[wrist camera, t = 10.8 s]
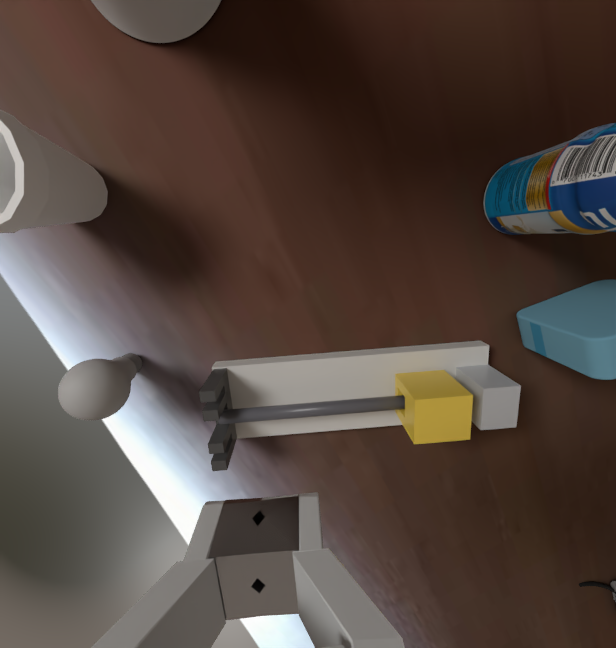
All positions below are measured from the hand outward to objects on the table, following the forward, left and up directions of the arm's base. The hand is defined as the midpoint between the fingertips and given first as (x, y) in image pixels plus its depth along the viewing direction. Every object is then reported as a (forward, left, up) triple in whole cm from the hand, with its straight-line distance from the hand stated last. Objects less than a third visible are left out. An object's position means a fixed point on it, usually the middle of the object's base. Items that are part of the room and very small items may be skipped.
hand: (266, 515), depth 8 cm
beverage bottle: (-10, +27, -31) cm, 42 cm away
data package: (+4, +34, -31) cm, 46 cm away
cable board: (+12, +7, -31) cm, 34 cm away
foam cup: (-14, -22, -31) cm, 41 cm away
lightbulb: (+6, -20, -31) cm, 38 cm away
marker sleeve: (+12, +15, -28) cm, 34 cm away
